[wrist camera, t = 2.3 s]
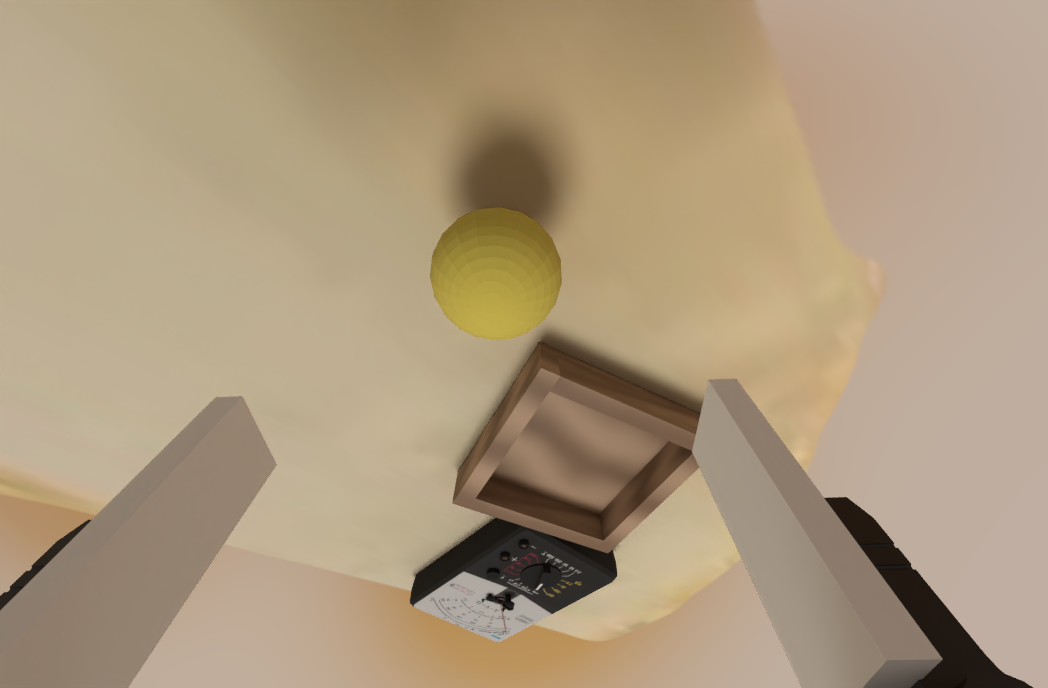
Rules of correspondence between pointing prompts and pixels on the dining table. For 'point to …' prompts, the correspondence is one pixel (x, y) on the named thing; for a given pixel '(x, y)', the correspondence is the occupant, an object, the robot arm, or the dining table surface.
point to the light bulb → (496, 273)
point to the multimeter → (509, 579)
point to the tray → (578, 453)
